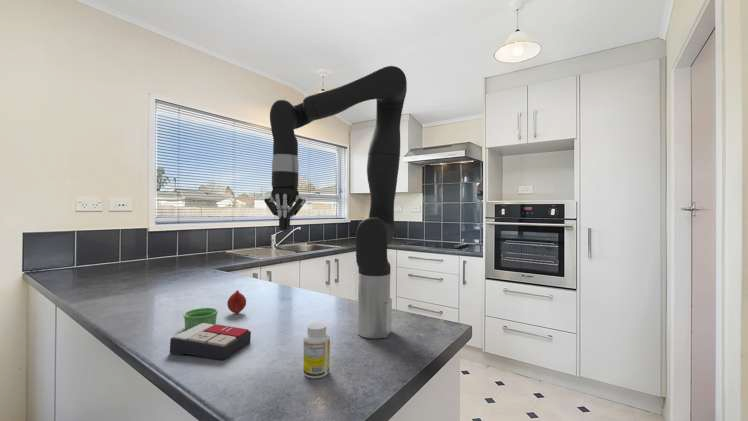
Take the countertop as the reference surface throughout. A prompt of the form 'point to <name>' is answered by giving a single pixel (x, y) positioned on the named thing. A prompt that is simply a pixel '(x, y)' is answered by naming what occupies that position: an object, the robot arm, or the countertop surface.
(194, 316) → the ramekin
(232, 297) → the onion
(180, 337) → the calculator
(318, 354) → the supplement bottle
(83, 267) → the countertop surface
